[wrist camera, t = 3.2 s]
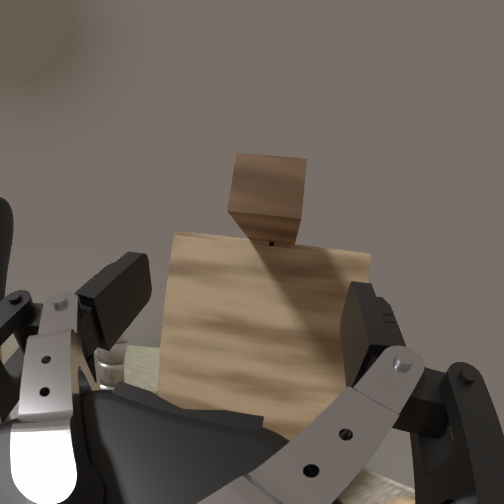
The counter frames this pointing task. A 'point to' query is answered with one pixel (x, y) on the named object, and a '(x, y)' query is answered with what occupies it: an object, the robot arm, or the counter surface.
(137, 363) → the counter surface
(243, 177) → the brown wooden bar
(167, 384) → the wooden block
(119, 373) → the plastic bottle
